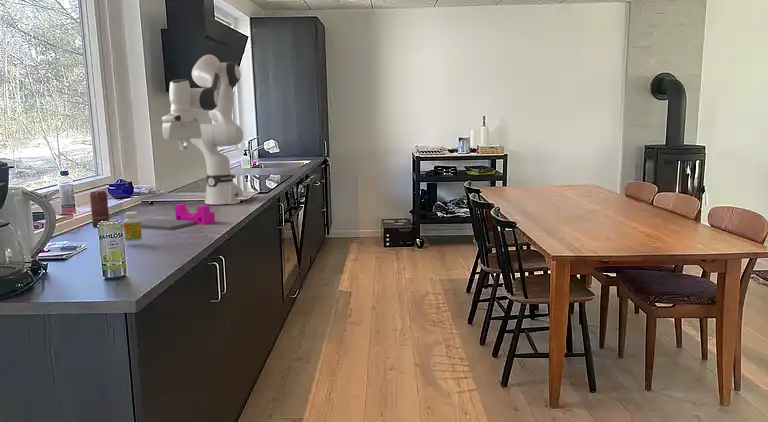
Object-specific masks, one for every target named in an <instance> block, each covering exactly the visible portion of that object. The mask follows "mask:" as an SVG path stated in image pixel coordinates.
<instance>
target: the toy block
mask: <svg viewBox="0 0 768 422" xmlns="http://www.w3.org/2000/svg"><path fill="white" fill-rule="evenodd" d="M174 211H175V212H174V214H175V220H186V221H196V224H195V225H202V226H205V225H209V224H210V225H211V224H213V223H215V222H216V218H215V217H216V216H215V215H216V214H215V211H211V205H210V204H205V205H198V206H197V211H196V212H194V213H190V212H189V211H188V209H187V205H186V204H185V203H180V204H174Z"/></svg>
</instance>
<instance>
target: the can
mask: <svg viewBox="0 0 768 422" xmlns="http://www.w3.org/2000/svg"><path fill="white" fill-rule="evenodd" d="M89 200H90V210H91V222H92V226H93V228H98V227H97V225H98V223H99V222H101V221H109V222H110V214H109V202H108V201H109V200H108V193H107V192H106V191H105V190H98V191H90V194H89Z"/></svg>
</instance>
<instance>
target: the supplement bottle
mask: <svg viewBox="0 0 768 422" xmlns="http://www.w3.org/2000/svg"><path fill="white" fill-rule="evenodd" d="M138 216H139V215H138V212H137V211H127V212H125V213H124V217H125V219H123V230H124V241H125V242H138V241H141V240H143V239H142V237H143V235H142V228H141V222H140V220H141V219H140V218H139V217H138Z"/></svg>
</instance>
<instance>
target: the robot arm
mask: <svg viewBox="0 0 768 422" xmlns="http://www.w3.org/2000/svg"><path fill="white" fill-rule="evenodd" d="M191 77H192V81H194V83H195V84H196V85H198V86H199V87H198V88H197V87H195V88H194V87H192V88H191V87H190V82H189V80H188V79H183V78H182V79H180V78H179V79H173V80H171V81H170V82H169V89H168V90H169V93H168V94H169V103H170V111H169V112H170V113H168V114H166V115H163V116H162V117H161V121H162V125H161V126H162V131H161V132H162V133H161V134H162V138H163V139H164V140H165V141H167V140H168V141H169V140H177V141H176V142H177V144H178V146H179V150H180V151H185V150H187V151H188V148H189V147H188V146H189V143H190V141H191V143H192V144H193V145H194V146H196V147H197V148H198V149H199V150H200V152H201V153H202V155H203V156H204V159H205V165H206V175H205V176H206V177H205V179H206V183H207V184H206V187H205V200H204V203H205V205H231V204H233V205H235V204H239V203H241V202H240V201H241V200H237V198H239V197H241V196H243V197H244V195H243V189H242V188H241V186H239V185H238V184H237V183H235V181H234V179H236V178H237V175H236V174H231V163H230V159H229V157H228V156H227V155H226V154H224V153H222V152H220V151H219V150H218V147H234V146H237V145H240V144H241V143H242V141H243V139H244V132H243V128H241V126H240V125H239V124H237V123H236V122H235V121H234V120H233V108H234V100H235V99H234V98H235V97H234V96H235V95H234V90H233V88H235V87H236V86H237V84H239V82H240V79H241V69H240V66H239V65H238V64H237V63H236V62H233V61H228V62H220V60H219V59H218V57H216V56H215V55H213V54H205V55H203V56H201V57H200V58H199V59H198V60H197V61H196V63H195V64H194V66H193V68H192V69H191ZM193 111H208V116H209V118H210V120H212V121H213V122H214V123H201V124H200V120H199V119H198V118H197V117H193Z"/></svg>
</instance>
